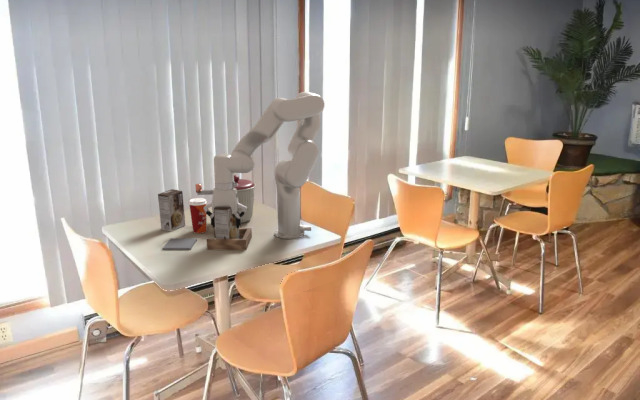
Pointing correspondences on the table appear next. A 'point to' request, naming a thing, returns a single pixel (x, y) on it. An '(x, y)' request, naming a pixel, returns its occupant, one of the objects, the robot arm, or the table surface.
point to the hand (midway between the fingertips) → (226, 227)
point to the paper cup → (198, 215)
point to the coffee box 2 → (225, 223)
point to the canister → (245, 196)
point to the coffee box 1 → (171, 210)
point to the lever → (202, 192)
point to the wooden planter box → (231, 241)
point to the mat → (180, 244)
